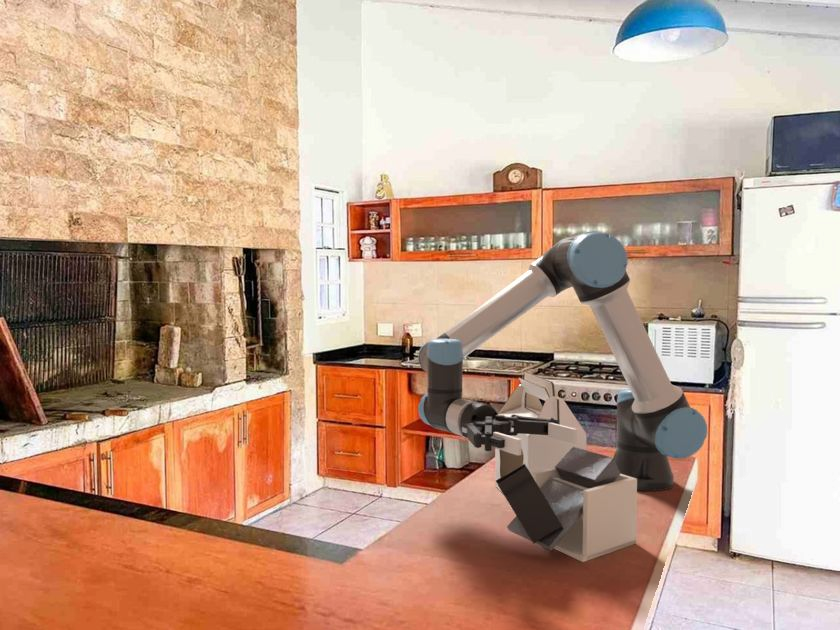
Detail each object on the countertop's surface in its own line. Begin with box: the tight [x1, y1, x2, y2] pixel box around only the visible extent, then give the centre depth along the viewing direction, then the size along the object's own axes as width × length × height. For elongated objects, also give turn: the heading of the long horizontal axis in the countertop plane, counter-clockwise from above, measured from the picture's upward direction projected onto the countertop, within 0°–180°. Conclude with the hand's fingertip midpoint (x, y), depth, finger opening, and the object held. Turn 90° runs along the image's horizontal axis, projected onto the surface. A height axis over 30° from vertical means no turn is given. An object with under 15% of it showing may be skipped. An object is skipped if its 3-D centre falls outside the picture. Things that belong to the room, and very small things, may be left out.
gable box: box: [494, 372, 588, 493], centre depth 149 cm, size 22×13×28 cm, turn 12°
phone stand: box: [496, 464, 563, 545], centre depth 118 cm, size 9×6×12 cm
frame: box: [532, 467, 638, 563], centre depth 126 cm, size 14×14×12 cm
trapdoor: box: [506, 447, 621, 551], centre depth 123 cm, size 21×11×4 cm
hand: (548, 441), depth 115 cm, fingers open, 13 cm apart
